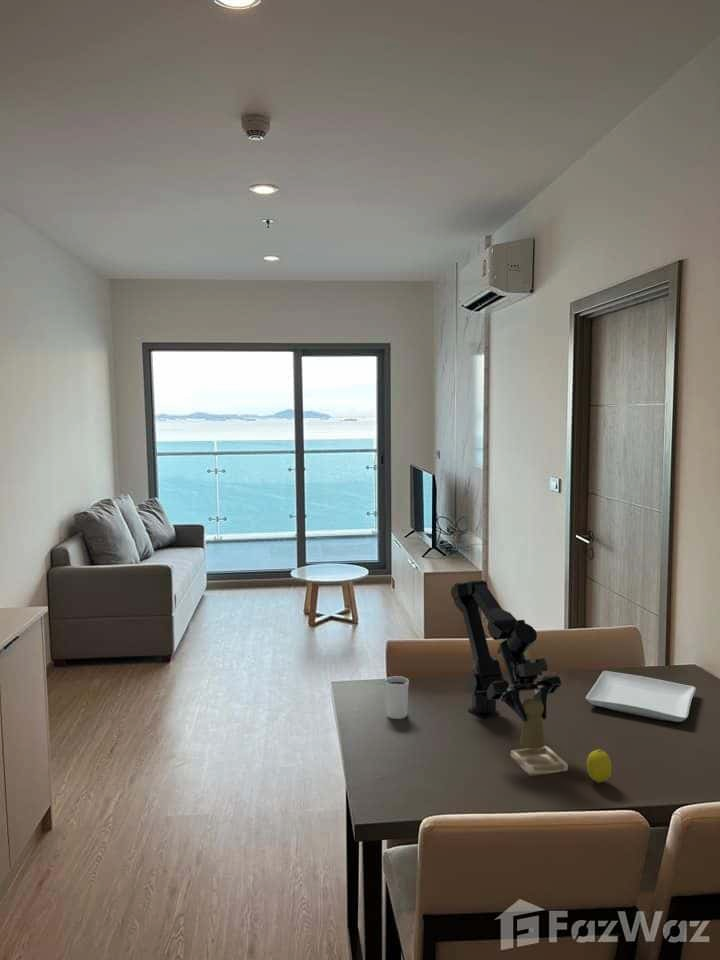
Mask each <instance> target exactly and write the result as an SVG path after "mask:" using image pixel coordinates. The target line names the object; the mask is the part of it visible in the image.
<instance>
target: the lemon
mask: <svg viewBox="0 0 720 960" xmlns="http://www.w3.org/2000/svg"><path fill="white" fill-rule="evenodd" d="M612 766H613V765H612V760H611V758H610V756H609V754H608V753H606V752H605V751H604V750H602V749H601V748H600V749H596V750H593V751H591V752H590V753H589V754H588V757H587V758H586V766H585V767H586V772H587V774H588V776H589V777H590V778H591V780H594V781H595V782H596V784H600V783H602V782H605V781H607V780H608V779H609V778H610V776H611V774H612Z"/></svg>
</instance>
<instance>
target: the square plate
mask: <svg viewBox="0 0 720 960" xmlns="http://www.w3.org/2000/svg"><path fill="white" fill-rule="evenodd" d="M696 690H697V687H695V686H693V685H687V684H681V683H677V682H673V681H668V680H662V679H658V678H657V679H656V678H654V677H653V678H652V677H647V676H642V675H636V674H629V673H624V672H615V671H611V670H609V671H608V670H603V671H602V672H601V674H600V675H599V676H598V679H597V680H596V682H595V683H594V685H593V686H592V688H591V689H590V690H589V692H588V693H587V695H586V696H585V700H587V701H588V702H589V703H590V704H592V705H593V706H596V707H600V708H604V709H605V708H606V709H608V710H612V711H616V712H621V713H624V714H625V713H626V714H631V715H636V716H640V717H641V716H642V717H645V718H651V719H655V720H662V721H670V722H674V723H675V722H677V723H679V722H680V723H681V722H683V721H685V720H686V719H688V716H689V713H690V708H691V703H692V700H693V697H694V695H695V693H696Z"/></svg>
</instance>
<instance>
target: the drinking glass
mask: <svg viewBox="0 0 720 960" xmlns="http://www.w3.org/2000/svg"><path fill="white" fill-rule="evenodd" d="M384 680H385V683H384V687H385V705H386V706H385V708H386V711H385V712H386V716H387V717H388V718H389V719H390V718H391V719H394V720H395V719H396V720H402V719H404V718H406V717H407V715H408V703H409V702H408V701H409V683H410V681H409V679H408V678H407V677H404V676H397V675H395V676H394V675H393V676H389V677H387V678H385V679H384Z"/></svg>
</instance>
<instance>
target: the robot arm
mask: <svg viewBox="0 0 720 960" xmlns="http://www.w3.org/2000/svg"><path fill="white" fill-rule="evenodd" d="M450 595H451V597H452V599H453V602H454V605H455V607H456V608H457V609H458V610H459V612H461V613H462V615H463V618H464V624H465V628H466V632H467V638H468V641H469V645H470V649H471V652H472V653H471V654H472V657H473V662H472V663H473V664H472V666H471V669H470V677H469V679H467V681H466V690H467V691H468V692H469V693H470V694H471V695H472V704H471V705H472V707H470V708H468V712H470V713H472V714H474V715H476V716H478V717H479V718H482V719H485V718H489V717H493V716H495V715H499V714H500V711H499V710H497V701H498V700H500V701H501V702H502V703H505V704H506V705H507V706H508V707H509V708H511V710H513V712H514V713H515V714H516V715H517V716H518V717H519V718H520V719H521V720H522V722H523V721H524V722H526V721H527V719H526V715H525V712H524V709H523V706H522V704H523V703H522V702H521V699H520V692H525V691H534V693H535V694H534V695H533V699H537V700H539V701H541V702H542V704H543V706H544V711H543V713H542V714H541V717H542V721H543V720H546V719H547V698H548V695H551V694H554V693H556V692H557V691H558V690H559V688H560V687H561V686H563V682H562V678H561V677H560V676H559V675H558V674H552V675H551V674H550V675H544V676H543V672H547V671H548V664H547V661H546V659H545V658H544V657H543V658H536V659H535V662H531V661H530V659H527V658H526V657H527V656H526V655H525V653H527V652H528V650H529V649H530V647H531V646H532V645H533V644H534V643H535V641H536V640H537V636H538V633H537V630H536V629H534V627H533V626H532V625H531V624H529V623H526V622H525V619H516V617H515V616H514V615H513V614H512V613H511V612H508V611H507V610H504V609H503V608H502V607H501V605H500V604H499V602H498V601H497V599H496V598H495V596H494V595H493V593H492V592H491V590H490V589H489V586H488V583H487V581H486V580H479V579H477V580H470V581H467V582H466V581H465V582H455V583H454V584H453V586H452V587H451V589H450ZM479 608H480V609H479ZM480 610H481V612H482V613H483V615H484V617H485V618H486V620H487V627H486V628H487V630H488V634H489V636H490V637H491V638H492V640H494V641H497V640H498V641H499V640H500V641H502V640H503V641H502V642H500V643H499V646H498V648H497V654H500V655H501V656H502V660H503V663H504V666H505V669H504V674H505V675H507V676H508V678H509V681H510V683H509V681H507V680H506V679H504V675H503V672H502V669H501V666H500V661H498V659H494V658H493V657H492V656H491V653H490V649H489V646H488V641H487V637H486V633H485V628H484V625H483V622H482V617H481V614H480ZM538 676H543V677H542V679H541V680H539V681H535V680H537V679H538ZM501 697H502V698H501Z"/></svg>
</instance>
